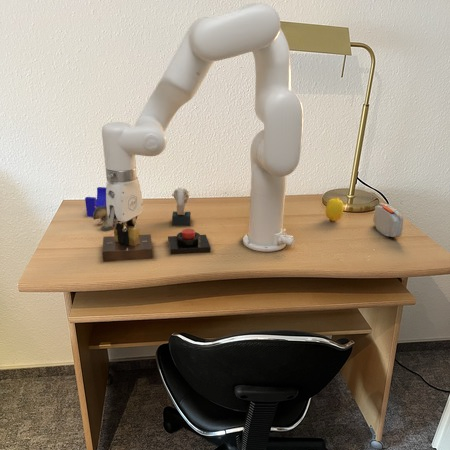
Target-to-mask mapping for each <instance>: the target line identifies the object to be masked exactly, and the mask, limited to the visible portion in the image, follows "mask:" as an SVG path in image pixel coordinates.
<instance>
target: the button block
mask: <svg viewBox="0 0 450 450" xmlns="http://www.w3.org/2000/svg"><path fill="white" fill-rule="evenodd" d="M167 244H168V249H169V254H170V256H171V255H172V256H173V255H175V256H176V255H191V254H208V253H209V254H210V253H211V245H210V242H209V239H208V236H207V235H206V234H201V233H199V232H196V231H195V238H192V239H186V238H183V237H182V231H181V232H179V233H177V234H176V235H171V236H170V235H168V236H167Z"/></svg>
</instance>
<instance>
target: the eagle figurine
mask: <svg viewBox="0 0 450 450" xmlns="http://www.w3.org/2000/svg"><path fill="white" fill-rule="evenodd" d="M94 207H95V208H96V209H95V210H94V213H93V217H92V219H93V221H94V220H98V222H97V225H98V226H99V225H101V224H102V225H101V227H100V230H101V231H104V232H105V231H106V232H107V231H110V230H112V229H113V230H114V227H111V226H109V218H108V215H107V209H106V207H105V206H104V207H103V206H102V207H100V206H99V207H96V206H94Z"/></svg>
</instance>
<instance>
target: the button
mask: <svg viewBox="0 0 450 450" xmlns="http://www.w3.org/2000/svg"><path fill="white" fill-rule="evenodd" d="M181 232H182V237H183V238H186V239H192V238H195V232H196V230H195V229H193V228H184V229H182V230H181Z"/></svg>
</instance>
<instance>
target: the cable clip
mask: <svg viewBox="0 0 450 450" xmlns="http://www.w3.org/2000/svg"><path fill="white" fill-rule="evenodd" d="M84 202H85V209H86V217H90V218H93V213H94V210H95V209H96V208H95V207H94V206H96V207H99V206H100V207H102V206H103V207H104V206H105V207H106V209H107V206H106V186H105V187H104V186H98V187H96V197H95V196H86V197H85V198H84Z"/></svg>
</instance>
